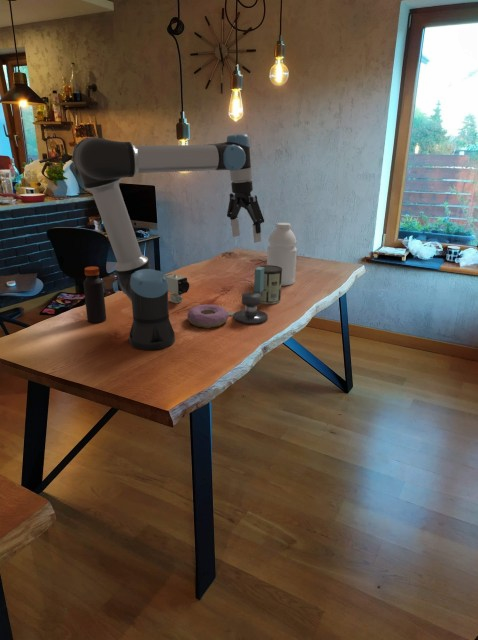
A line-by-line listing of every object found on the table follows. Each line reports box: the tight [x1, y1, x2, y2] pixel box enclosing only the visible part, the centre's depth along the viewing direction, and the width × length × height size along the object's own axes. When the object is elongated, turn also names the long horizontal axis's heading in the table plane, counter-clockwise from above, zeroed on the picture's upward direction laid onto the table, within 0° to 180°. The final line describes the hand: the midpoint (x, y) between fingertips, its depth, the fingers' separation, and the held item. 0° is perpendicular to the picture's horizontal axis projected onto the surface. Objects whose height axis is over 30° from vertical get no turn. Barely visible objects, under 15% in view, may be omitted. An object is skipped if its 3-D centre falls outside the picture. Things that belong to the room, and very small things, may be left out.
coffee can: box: [259, 264, 282, 305], centre depth 192 cm, size 10×10×14 cm
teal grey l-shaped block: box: [241, 266, 264, 306], centre depth 172 cm, size 14×7×12 cm, turn 157°
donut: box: [187, 304, 229, 329], centre depth 170 cm, size 16×15×5 cm
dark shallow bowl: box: [227, 305, 269, 326], centre depth 174 cm, size 13×16×6 cm
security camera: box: [165, 273, 190, 304], centre depth 188 cm, size 6×12×12 cm, turn 53°
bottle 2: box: [266, 222, 298, 287], centre depth 214 cm, size 14×14×28 cm
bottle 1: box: [82, 266, 107, 324], centre depth 166 cm, size 7×7×20 cm
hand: (246, 238), depth 171 cm, fingers open, 13 cm apart
